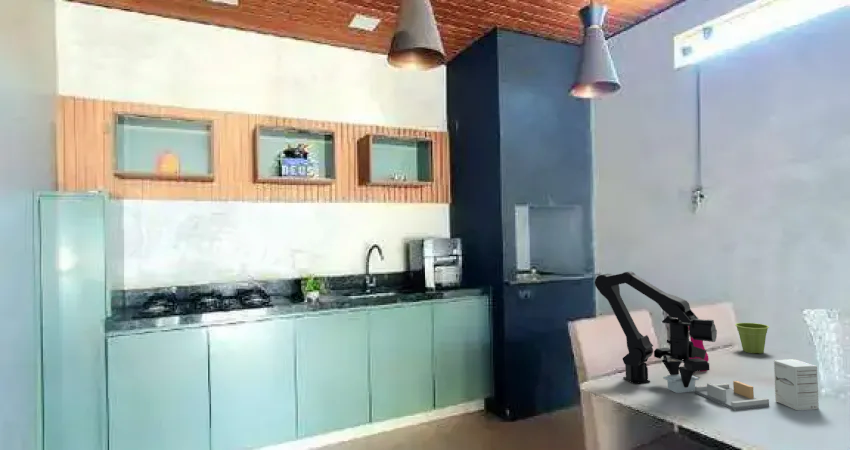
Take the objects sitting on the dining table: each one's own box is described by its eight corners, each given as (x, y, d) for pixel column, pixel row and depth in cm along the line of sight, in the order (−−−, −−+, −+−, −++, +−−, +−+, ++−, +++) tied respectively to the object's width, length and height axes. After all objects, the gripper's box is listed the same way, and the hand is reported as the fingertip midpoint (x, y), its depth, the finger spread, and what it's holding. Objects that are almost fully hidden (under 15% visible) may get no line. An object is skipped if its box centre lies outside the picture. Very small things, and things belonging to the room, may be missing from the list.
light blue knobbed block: (672, 393, 147) (671, 378, 147) (663, 389, 151) (663, 374, 151) (699, 390, 149) (698, 375, 149) (690, 386, 153) (689, 372, 153)
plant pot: (736, 347, 202) (735, 321, 202) (769, 350, 195) (768, 324, 196) (735, 353, 192) (734, 326, 193) (771, 356, 186) (769, 329, 186)
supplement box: (774, 401, 138) (772, 359, 138) (797, 400, 138) (795, 358, 139) (796, 411, 130) (794, 366, 131) (820, 409, 131) (818, 365, 131)
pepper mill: (712, 372, 168) (710, 317, 168) (690, 371, 169) (688, 317, 170) (704, 366, 175) (702, 314, 175) (683, 366, 176) (681, 314, 177)
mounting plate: (734, 410, 132) (733, 395, 132) (694, 392, 147) (694, 379, 147) (769, 406, 135) (768, 391, 135) (726, 389, 149) (726, 376, 149)
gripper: (723, 342, 143) (725, 392, 142) (680, 330, 161) (682, 374, 161) (692, 344, 141) (694, 395, 140) (652, 332, 159) (653, 377, 159)
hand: (681, 385), depth 150 cm, fingers closed on light blue knobbed block, 4 cm apart
